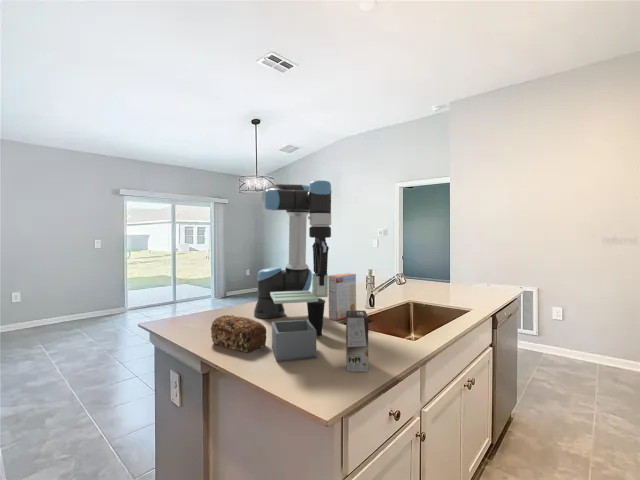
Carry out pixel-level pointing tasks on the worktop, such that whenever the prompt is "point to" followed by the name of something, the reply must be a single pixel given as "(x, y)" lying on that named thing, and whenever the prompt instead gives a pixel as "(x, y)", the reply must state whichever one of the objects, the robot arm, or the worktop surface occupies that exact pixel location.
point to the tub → (293, 340)
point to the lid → (300, 294)
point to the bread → (238, 333)
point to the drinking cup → (316, 315)
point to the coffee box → (357, 341)
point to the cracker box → (341, 295)
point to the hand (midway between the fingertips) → (320, 293)
